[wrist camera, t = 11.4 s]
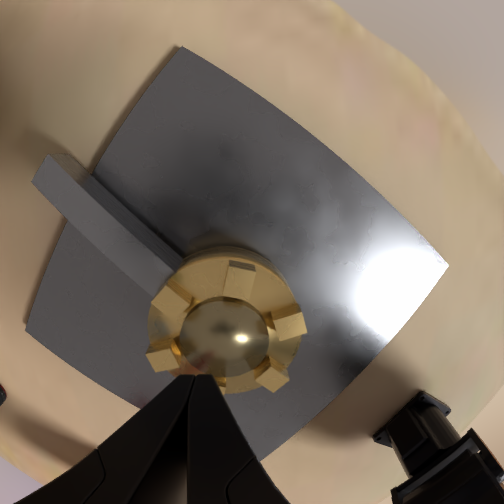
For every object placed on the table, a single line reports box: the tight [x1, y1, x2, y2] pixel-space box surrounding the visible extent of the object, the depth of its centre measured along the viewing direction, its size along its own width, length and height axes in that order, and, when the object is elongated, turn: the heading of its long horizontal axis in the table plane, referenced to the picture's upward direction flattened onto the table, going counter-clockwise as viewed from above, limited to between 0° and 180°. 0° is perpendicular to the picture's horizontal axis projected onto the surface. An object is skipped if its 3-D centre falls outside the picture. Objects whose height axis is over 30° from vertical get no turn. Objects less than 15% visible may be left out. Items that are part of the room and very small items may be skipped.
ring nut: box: [31, 154, 307, 396], centre depth 15 cm, size 17×8×4 cm, turn 47°
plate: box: [25, 46, 449, 461], centre depth 19 cm, size 22×22×1 cm
